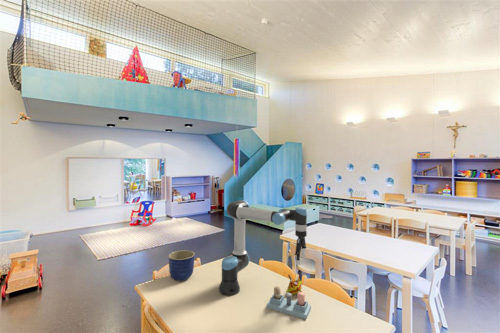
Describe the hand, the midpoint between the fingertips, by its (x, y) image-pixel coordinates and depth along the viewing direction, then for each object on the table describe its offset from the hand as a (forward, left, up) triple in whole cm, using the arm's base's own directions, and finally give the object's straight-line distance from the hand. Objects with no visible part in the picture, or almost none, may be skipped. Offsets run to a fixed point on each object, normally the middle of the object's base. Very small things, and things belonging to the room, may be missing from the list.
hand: (300, 261), depth 170 cm
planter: (-95, -12, -27) cm, 100 cm away
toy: (-6, +7, -27) cm, 29 cm away
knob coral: (+4, -13, -23) cm, 26 cm away
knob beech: (-12, -13, -23) cm, 29 cm away
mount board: (-4, -13, -27) cm, 30 cm away
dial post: (-4, -13, -25) cm, 28 cm away
